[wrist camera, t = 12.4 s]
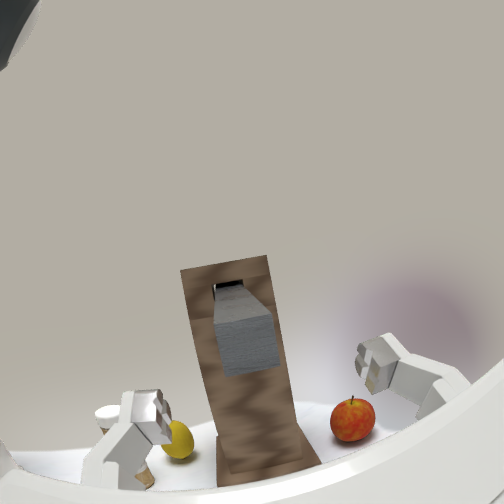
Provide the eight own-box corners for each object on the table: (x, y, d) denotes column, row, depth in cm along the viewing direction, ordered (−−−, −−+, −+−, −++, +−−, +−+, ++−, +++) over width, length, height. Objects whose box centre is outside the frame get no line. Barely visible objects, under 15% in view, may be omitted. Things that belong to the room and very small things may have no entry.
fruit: (339, 455, 30) (335, 413, 31) (326, 433, 37) (322, 394, 38) (382, 439, 30) (382, 396, 31) (365, 421, 37) (363, 381, 38)
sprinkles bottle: (143, 471, 30) (115, 401, 32) (161, 481, 28) (130, 408, 29) (122, 482, 27) (88, 410, 28) (138, 494, 24) (102, 419, 25)
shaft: (225, 377, 14) (213, 324, 14) (219, 305, 38) (215, 284, 38) (280, 365, 14) (271, 313, 14) (241, 301, 38) (237, 280, 38)
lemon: (181, 447, 39) (168, 410, 39) (205, 454, 36) (193, 416, 37) (160, 461, 34) (145, 423, 35) (185, 470, 31) (169, 431, 32)
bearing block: (219, 491, 26) (159, 272, 29) (218, 442, 40) (178, 276, 43) (322, 469, 28) (287, 249, 31) (296, 426, 42) (266, 260, 44)
